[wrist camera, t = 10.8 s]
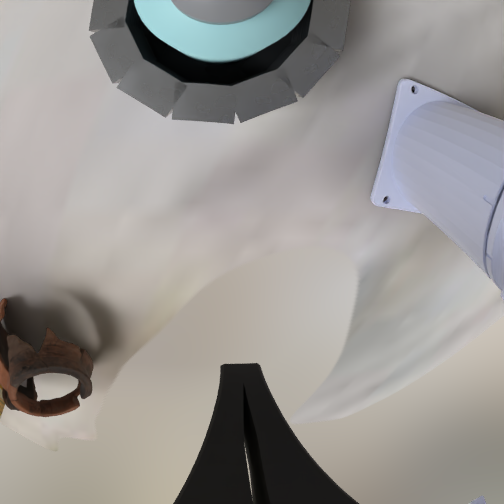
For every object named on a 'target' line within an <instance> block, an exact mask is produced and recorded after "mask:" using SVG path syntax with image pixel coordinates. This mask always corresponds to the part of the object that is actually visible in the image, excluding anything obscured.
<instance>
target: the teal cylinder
mask: <svg viewBox="0 0 504 504" xmlns="http://www.w3.org/2000/svg"><path fill="white" fill-rule="evenodd" d="M310 1H311V0H134V3H135V7H136V9H137V12H138V14H139V16H140V18H141V20H142V21H143V23H144V24H145V25H146V26H147V28H148V29H149V30H150V31H151V32H152V33H153V34H154V35H155V36H157V37H158V38H159V39H161V40H162V41H164V42H165V43H167V44H168V45H170V46H172V47H173V48H175V49H177V50H178V51H180V52H182V53H183V54H185V55H186V56H188V57H190V58H192V59H194V60H197V61H200V62H203V63H208V64H230V63H235V62H238V61H242V60H244V59H246V58H249V57H250V56H252V55H254V54H255V53H257V52H259V51H261V50H262V49H264V48H266V47H267V46H269V45H271V44H273V43H275V42H276V41H278V40H280V39H281V38H282V37H284V36H285V35H287V34H288V33H289V32H290V31H291V30H292V29H293V28H294V27H295V26H296V25H297V24H298V23H299V22H300V20H301V19H302V17H303V16H304V14H305V13H306V11H307V9H308V6H309V4H310Z"/></svg>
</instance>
